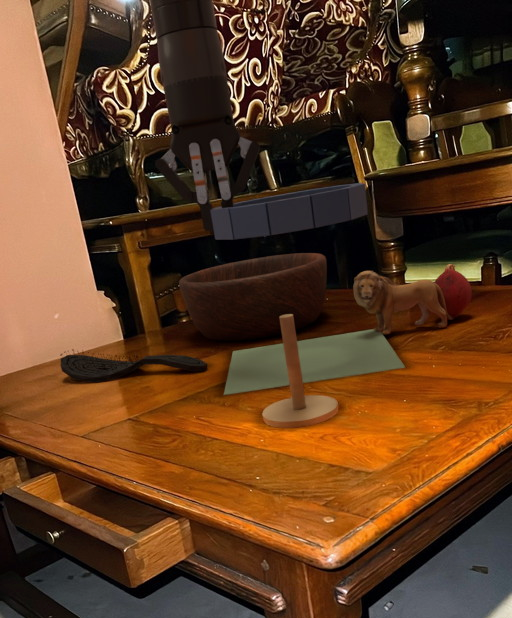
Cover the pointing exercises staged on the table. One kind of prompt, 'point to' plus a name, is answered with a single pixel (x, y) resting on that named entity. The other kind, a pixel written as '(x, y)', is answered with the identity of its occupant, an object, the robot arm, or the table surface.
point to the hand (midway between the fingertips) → (221, 232)
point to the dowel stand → (297, 390)
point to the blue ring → (290, 212)
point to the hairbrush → (121, 365)
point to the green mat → (312, 361)
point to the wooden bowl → (255, 295)
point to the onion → (454, 291)
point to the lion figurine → (397, 299)
